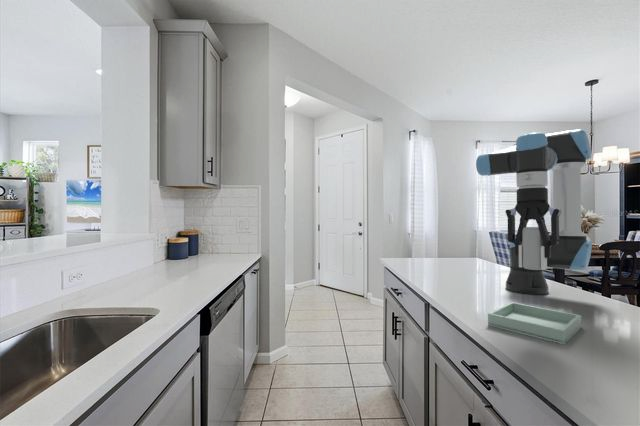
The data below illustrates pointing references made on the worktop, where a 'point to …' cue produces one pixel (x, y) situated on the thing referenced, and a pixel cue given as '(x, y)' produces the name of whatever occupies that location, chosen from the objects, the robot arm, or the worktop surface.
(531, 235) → the beverage can
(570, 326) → the tray
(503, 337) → the worktop surface
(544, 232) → the robot arm
